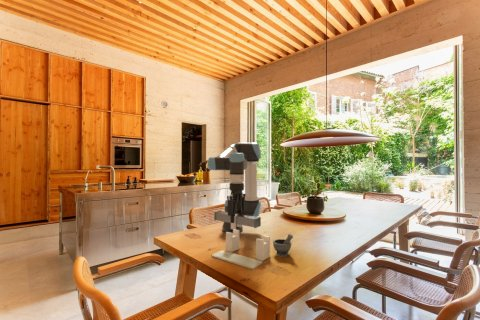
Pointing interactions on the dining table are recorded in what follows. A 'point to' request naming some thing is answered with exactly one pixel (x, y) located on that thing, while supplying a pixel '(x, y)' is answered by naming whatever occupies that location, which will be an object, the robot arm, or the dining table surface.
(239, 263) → the mat
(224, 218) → the rail
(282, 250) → the mortar and pestle
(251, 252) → the dining table surface
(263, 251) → the beige u-shaped block
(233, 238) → the beige bridge block
